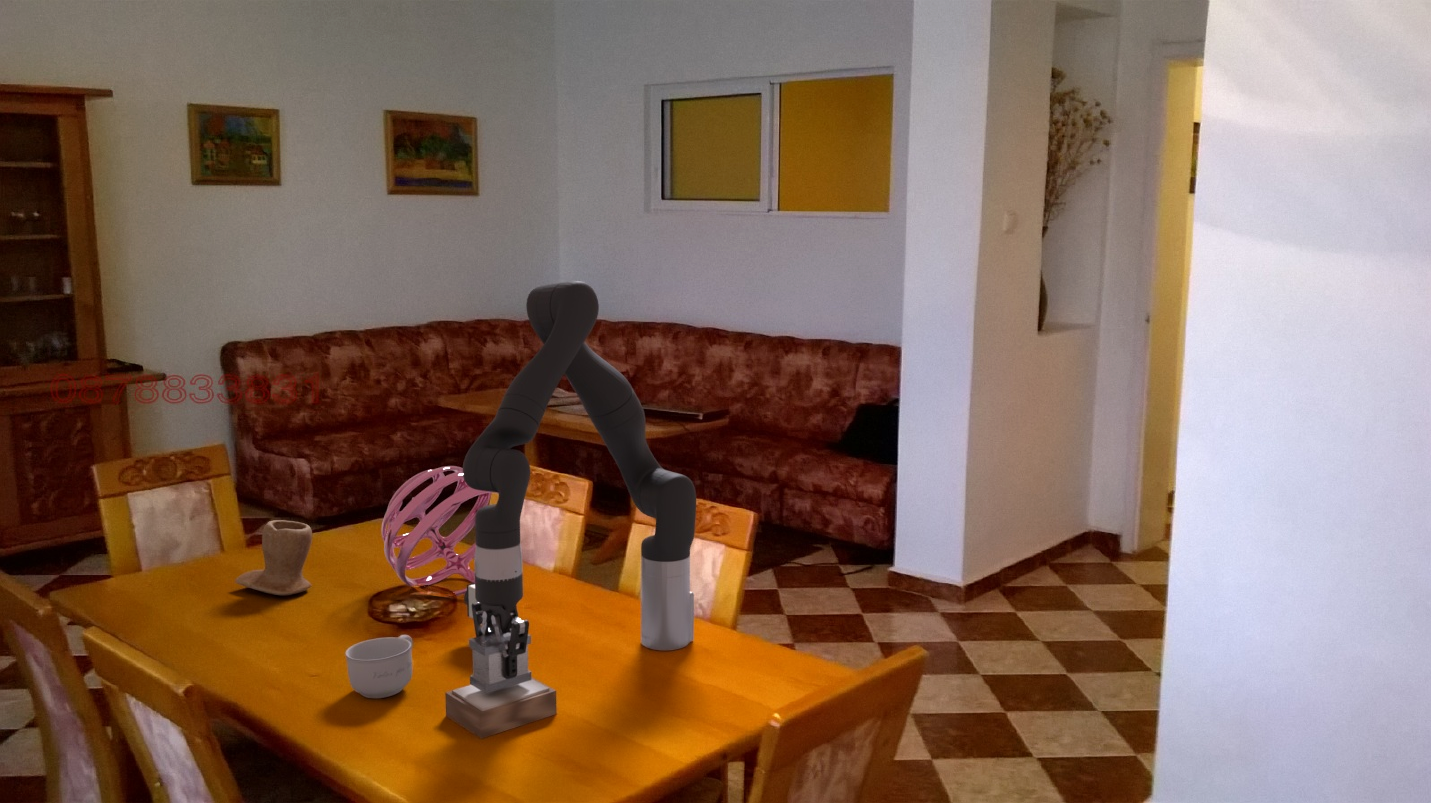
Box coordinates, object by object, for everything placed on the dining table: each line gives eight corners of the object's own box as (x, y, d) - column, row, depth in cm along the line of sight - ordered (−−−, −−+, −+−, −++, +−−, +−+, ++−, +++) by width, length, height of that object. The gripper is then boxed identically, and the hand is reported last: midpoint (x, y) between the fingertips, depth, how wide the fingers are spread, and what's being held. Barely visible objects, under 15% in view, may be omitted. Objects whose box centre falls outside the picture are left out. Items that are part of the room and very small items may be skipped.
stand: (519, 693, 199) (519, 668, 199) (556, 713, 191) (556, 688, 191) (445, 715, 190) (445, 689, 189) (481, 738, 182) (480, 711, 181)
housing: (514, 670, 194) (514, 627, 193) (531, 679, 191) (530, 635, 190) (470, 683, 189) (468, 638, 188) (486, 693, 185) (485, 647, 184)
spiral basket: (553, 505, 248) (472, 423, 257) (447, 563, 229) (363, 472, 238) (526, 584, 266) (451, 505, 275) (425, 644, 247) (349, 557, 256)
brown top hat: (326, 588, 253) (323, 521, 251) (279, 603, 244) (275, 533, 241) (281, 576, 262) (277, 511, 259) (234, 590, 252) (230, 522, 249)
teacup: (378, 709, 192) (376, 663, 191) (333, 695, 198) (331, 649, 197) (439, 681, 204) (438, 637, 203) (395, 668, 210) (394, 625, 208)
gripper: (543, 576, 184) (545, 679, 187) (495, 556, 195) (497, 654, 197) (502, 586, 179) (504, 692, 182) (455, 565, 190) (457, 665, 192)
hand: (500, 671), depth 190 cm, fingers closed on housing, 5 cm apart
